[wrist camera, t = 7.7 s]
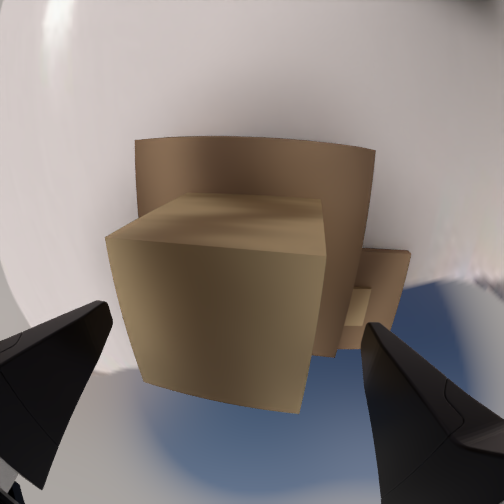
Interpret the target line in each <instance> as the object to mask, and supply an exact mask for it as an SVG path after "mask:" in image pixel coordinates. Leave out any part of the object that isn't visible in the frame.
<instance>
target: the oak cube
mask: <svg viewBox="0 0 504 504" xmlns="http://www.w3.org/2000/svg"><path fill="white" fill-rule="evenodd" d="M105 241H106V246H107V252H108V257H109V262H110V267H111V271H112V276H113V280H114V285H115V289H116V293H117V297H118V301H119V305H120V309H121V312H122V316H123V319H124V323H125V326H126V330H127V333H128V336H129V340H130V343H131V346H132V349H133V352H134V355H135V358H136V361H137V364H138V367H139V370H140V372H141V375H142V378H143V381H144V382H146V383H149V384H152V385H156V386H159V387H162V388H166V389H170V390H173V391H177V392H180V393H184V394H188V395H192V396H196V397H200V398H205V399H209V400H214V401H218V402H223V403H228V404H234V405H239V406H245V407H251V408H257V409H264V410H271V411H278V412H287V413H297V414H299V412H300V408H301V404H302V399H303V395H304V390H305V385H306V381H307V376H308V371H309V366H310V361H311V355H312V350H313V344H314V339H315V333H316V327H317V321H318V315H319V308H320V302H321V295H322V288H323V281H324V273H325V265H326V257H327V255H326V244H325V233H324V223H323V213H322V204H321V199H311V198H297V197H282V196H265V195H245V194H217V193H186V194H184V195H182V196H180V197H178V198H176V199H174V200H172V201H170V202H168V203H166V204H165V205H163V206H161V207H159V208H157V209H155V210H153V211H151V212H149V213H147V214H146V215H144V216H142V217H140V218H138V219H136V220H135V221H133V222H131V223H129V224H127V225H126V226H124V227H122V228H120V229H119V230H117V231H115V232H113V233H112V234H110V235H108V236H106V237H105Z"/></svg>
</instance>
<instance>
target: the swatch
mask: <svg viewBox="0 0 504 504" xmlns="http://www.w3.org/2000/svg"><path fill="white" fill-rule="evenodd" d="M410 258H411V253H410V252H409V251H408V250H391V249H374V248H362V250H361V255H360V260H359V265H358V270H357V274H356V279H355V283H354V288H353V292H352V296H351V300H350V304H349V308H348V312H347V316H346V320H345V324H344V328H343V331H342V335H341V338H340V342H339V345H338V349H361V340H362V337H363V333H364V330H365V326H366V324H367V323H368V322H379V323H381V324H382V325H383V326H385V327H386V328H387V329H388V330H391V327H392V323H393V320H394V317H395V314H396V310H397V307H398V304H399V301H400V297H401V293H402V290H403V286H404V282H405V278H406V274H407V270H408V266H409V262H410Z"/></svg>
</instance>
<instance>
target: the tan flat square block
mask: <svg viewBox="0 0 504 504" xmlns="http://www.w3.org/2000/svg"><path fill="white" fill-rule="evenodd" d="M375 152H376V150H372V149H367V148H362V147H356V146H349V145H342V144H334V143H326V142H317V141H307V140H296V139H283V138H266V137H241V136H189V137H166V138H153V139H142V140H135V170H136V190H137V205H138V217H139V218H140V217H142V216H144V215H146V214H147V213H149V212H151V211H153V210H155V209H157V208H159V207H161V206H163V205H165V204H166V203H168V202H170V201H172V200H174V199H176V198H178V197H180V196H182V195H184V194H186V193H217V194H245V195H265V196H282V197H297V198H311V199H321V204H322V213H323V223H324V233H325V244H326V255H327V257H326V265H325V273H324V281H323V288H322V295H321V302H320V308H319V315H318V321H317V327H316V333H315V339H314V344H313V350H312V355H315V356H324V357H334V358H335V355H336V352H337V349H338V345H339V342H340V338H341V335H342V331H343V328H344V324H345V320H346V316H347V312H348V308H349V304H350V300H351V296H352V292H353V288H354V283H355V279H356V274H357V270H358V265H359V260H360V255H361V250H362V245H363V239H364V234H365V228H366V222H367V216H368V209H369V203H370V195H371V188H372V180H373V171H374V162H375Z"/></svg>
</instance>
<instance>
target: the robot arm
mask: <svg viewBox="0 0 504 504" xmlns="http://www.w3.org/2000/svg"><path fill="white" fill-rule="evenodd" d="M112 325H113V319H112V316H111V313H110V309H109V306H108V304H107V302H105V301H99V300H97V301H94V302H92V303H89V304H87V305H85V306H82V307H80V308H77V309H75V310H73V311H70V312H68V313H65V314H63V315H61V316H58V317H56V318H54V319H51V320H49V321H47V322H44V323H42V324H40V325H37V326H35V327H33V328H30V329H28V330H26V331H24V332H21V333H19V334H17V335H14V336H12V337H9V338H7V339H4V340H2V341H0V504H25V503H24V500H23V496H22V492H21V489H20V485H19V484H18V483H17V482H16V481H15V479H16V477H17V475H18V474H20V475H21V476H22V477H24V478H25V479H26V480H28V481H29V482H31V483H32V484H33V485H35V486H36V487H38V488H39V489H41V490H42V489H43V487H44V485H45V482H46V479H47V476H48V473H49V471H50V468H51V465H52V462H53V460H54V457H55V455H56V452H57V449H58V446H59V444H60V442H61V439H62V437H63V434H64V432H65V430H66V427H67V425H68V423H69V420H70V418H71V416H72V414H73V411H74V409H75V407H76V405H77V402H78V401H79V398H80V396H81V394H82V392H83V390H84V388H85V386H86V384H87V382H88V380H89V378H90V376H91V374H92V372H93V370H94V368H95V366H96V364H97V362H98V360H99V358H100V355H101V353H102V350H103V348H104V345H105V343H106V340H107V338H108V335H109V333H110V331H111V328H112ZM361 357H362V367H363V379H364V389H365V394H366V399H367V405H368V410H369V415H370V421H371V427H372V433H373V439H374V445H375V453H376V460H377V467H378V474H379V484H380V493H381V498H382V499H381V504H504V419H502V418H501V417H500V416H498V415H497V414H495V413H494V412H492V411H491V410H489V409H488V408H487V407H485V406H484V405H482V404H481V403H479V402H478V401H477V400H475V399H474V398H472V397H471V396H470V395H468V394H467V393H466V392H464V391H463V390H462V389H461V388H459V387H458V386H457V385H456V384H454V383H453V382H452V381H451V380H450V379H448V378H447V377H446V376H445V375H444V374H442V373H441V372H440V371H439V370H438V369H436V368H435V367H434V366H433V365H431V364H430V363H429V362H428V361H427V360H425V359H424V358H423V357H422V356H420V355H419V354H418V353H417V352H416V351H414V350H413V349H412V348H411V347H409V346H408V345H407V344H406V343H404V342H403V341H402V340H401V339H400V338H398V337H397V336H396V335H395V334H393V333H392V332H391V331H390V330H388V329H387V328H386V327H385V326H383V325H382V324H381V323H379V322H368V323H367V324H366V326H365V330H364V333H363V337H362V340H361Z"/></svg>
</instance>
